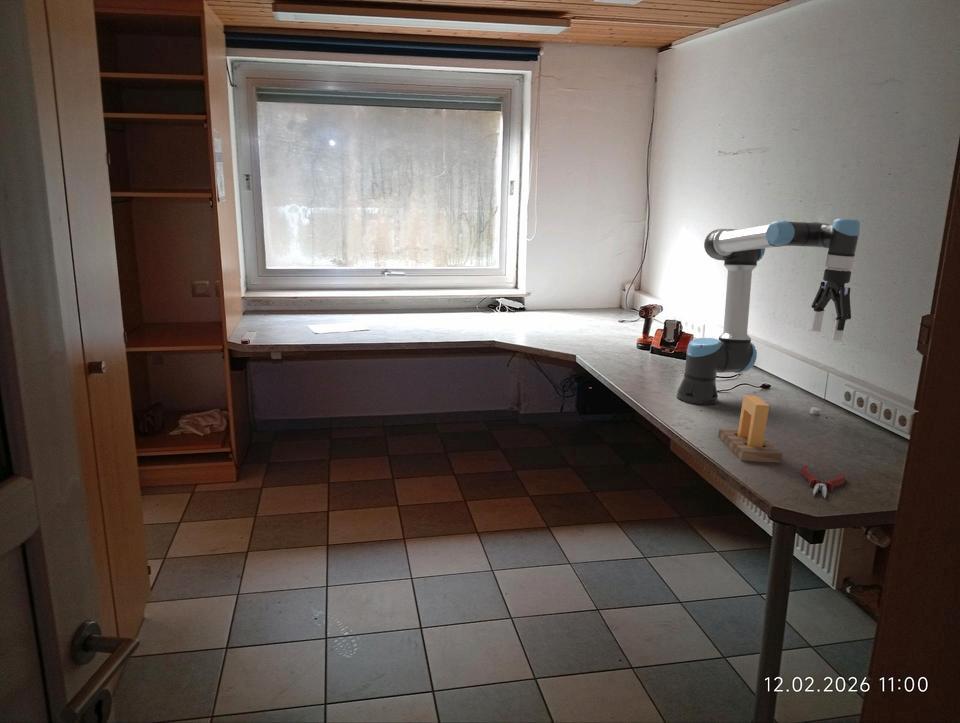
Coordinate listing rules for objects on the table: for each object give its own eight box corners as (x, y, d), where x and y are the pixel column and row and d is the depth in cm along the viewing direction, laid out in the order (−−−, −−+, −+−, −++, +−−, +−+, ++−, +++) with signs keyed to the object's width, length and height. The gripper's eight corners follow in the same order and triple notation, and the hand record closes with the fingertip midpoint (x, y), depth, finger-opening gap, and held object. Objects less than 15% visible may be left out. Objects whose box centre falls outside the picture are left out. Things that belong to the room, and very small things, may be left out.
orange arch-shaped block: (736, 443, 219) (743, 395, 215) (748, 443, 219) (756, 395, 215) (748, 454, 209) (756, 404, 205) (761, 455, 209) (769, 405, 205)
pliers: (794, 495, 183) (796, 486, 183) (800, 470, 201) (802, 462, 200) (842, 506, 178) (844, 497, 177) (844, 480, 195) (846, 472, 195)
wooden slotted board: (718, 436, 224) (719, 428, 223) (754, 438, 224) (756, 430, 223) (740, 460, 204) (742, 451, 203) (780, 462, 204) (782, 453, 204)
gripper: (872, 274, 202) (858, 345, 207) (830, 265, 226) (818, 328, 232) (847, 273, 202) (833, 343, 207) (807, 264, 226) (796, 327, 231)
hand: (825, 335), depth 219 cm, fingers open, 13 cm apart
